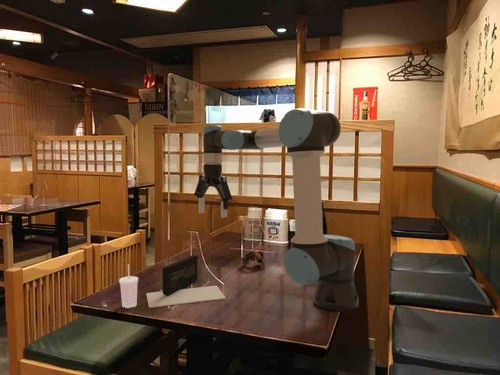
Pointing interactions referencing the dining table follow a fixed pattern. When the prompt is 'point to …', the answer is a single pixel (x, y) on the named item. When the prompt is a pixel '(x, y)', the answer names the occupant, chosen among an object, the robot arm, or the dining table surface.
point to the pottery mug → (253, 258)
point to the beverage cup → (129, 290)
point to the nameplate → (180, 274)
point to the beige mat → (184, 296)
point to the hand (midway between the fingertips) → (212, 215)
